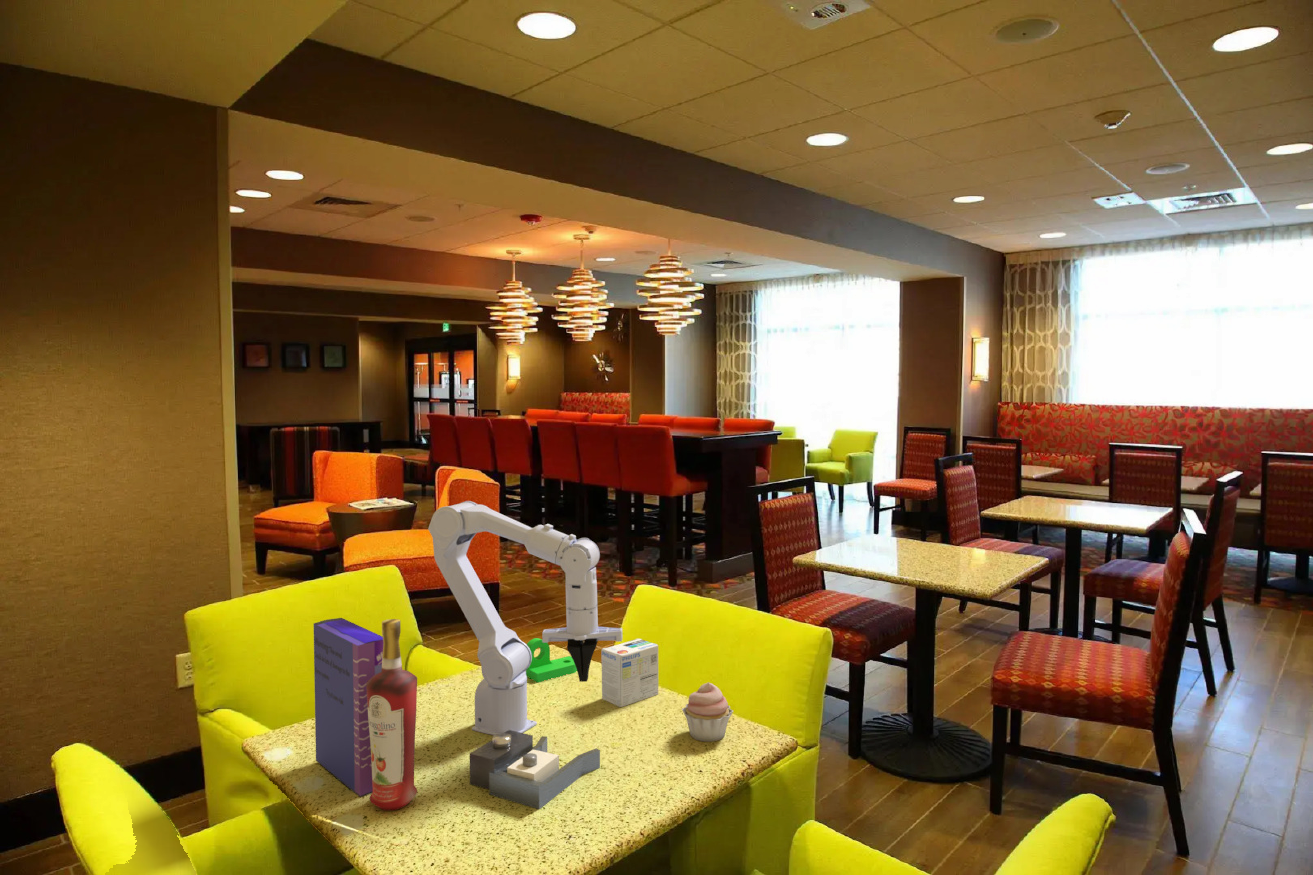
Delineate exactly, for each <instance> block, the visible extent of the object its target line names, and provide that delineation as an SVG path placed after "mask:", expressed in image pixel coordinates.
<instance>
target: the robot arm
mask: <svg viewBox="0 0 1313 875" xmlns="http://www.w3.org/2000/svg"><path fill="white" fill-rule="evenodd" d="M427 529H428V531H429V533H430V535H431V538H432V545H433V557H434V560H435V563H436V566H437V567H438V569H439V570H440V572H441V575H442V576H443V578H444V580H445V582H446V584H447V585H448V587H449V589H450V591H451V593H452V595H453V597H454V598H455V600H456V602H457V603H458V605H459V607H460V610H461V611H462V613H463V614H464V617H465V619H466V620H467V622H468V624H469V625H470V628H471V629H472V631H473V633H474V635H475V637H476V639H477V640H478V649H477V658H478V661H479V662H480V666H481V674H482V677H483V679H482V680H481V681H480V682H479V683H478V684H477V686H476V689H475V694H474V726H472V727H471V730H472V731H475V732H479V733H482V734H487V735H491V736H494V735H496V734H500V733H505V732H506V731H508V730H512V731H516V732H520V733H525V732H527V731H528V730H531V729H532V728H533V727H534V726H536V725H537V723H538V722H537V721H536V720H531V719H528V682H527V681H528V677H527V676H526V669H527V668H528V667H529V666H530V664H531V661H532V654H531V650H530V648H529V647H528V646H527V643H525V642H524V641H522V640H521V639H520V638H519V636H518V635H517V632H516V631H515V630H512V629H510V628H509V627H507V626H506V625H505V623H504V622H503V620H502V618H501V617H500V615H499V613H498V610H496V608H495V606H494V604H493V602H492V600H491V598H490V596H489V595H488V593H487V590H486V589H485V588H484V587H485V586H484V585H483V584H482V582H481V580H480V578H479V576H478V575H477V573H476V571H475V570H474V567H473V566H472V564H471V562H470V560H469V558H468V556H467V554H468V550H469V548H470V545H471V541H472V540H473V538H474V537H475V536H476V534H478V533H482V532H487V533H490V534H492V535H493V534H494V535H495V536H499V537H502V538H505V539H508V540H510V541H514V542H516V543H520V544H522V545H524V546H525V548H526V551H527V553H528V554H529V555H533V556H535V557H538V558H539V559H542V560H544V561H547V562H549V563H552V564H555V565H557V566H560V568H561V570H562V571H563V572H564V574H565V609H566V610H565V614H566V616H565V617H566V618H565V619H566V627H559V628H547V629H543V631H542V633H541V635H542V638H541V639H542V640H543V643H548V644H549V642H567V646H566V649H567V651H568V653H569V656H571V657H572V659H573V661H574V663H575V666H576V669H577V672H576V673H577V675H578V679H579V681H578V682H580V683H581V682H588V680H589V672H590V666H591V662H592V658H593V655H594V653H595V650H596V648H597V645H598V642H599V641H601V642H602V641H603V642H604V641H606V642H607V641H615V642H622V641H623V628H622V627H607V626H599V623H598V622H599V618H598V610H599V609H598V582H597V567H596V565H598V563H599V561H600V558H601V554H600V553H601V552H600V549H599V547H598V545H597V544H596V543H595V542H594V541H592V540H591V539H590V538H588V537H581V538H578V539H577V536H576V535H575V534H573V533H571V534H566V533H564V532H561V531H558V530H556V529H554V525H552V524H550V523H547V524H544V525H542V524H537V525H535V526H534V527H531V526H529V525H526V524H525V523H522V522H520V521H518V520H515V519H513V518H511V517H509V516H507V515H504V514H502V513H500V512H498V511H496V510H493V509H492V508H490V507H488V506H486V505H485V504H478V503H476V502H474V501H471V500H465V501H463V502H460V503H457V504H456V503H455V504H453V505H449V506H448V505H447V506H441V507H440V508H438V509H436V510H435V511H434V513H433V514H432V516H431V520H430V523H429V526H428V528H427Z"/></svg>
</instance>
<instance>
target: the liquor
mask: <svg viewBox="0 0 1313 875" xmlns="http://www.w3.org/2000/svg"><path fill="white" fill-rule="evenodd" d="M401 628H402V627H401V620H400V619H398V618H397V619H396V618H392V619H391V618H390V619H385V620H382V622H381V636H382V637H383V642H384V644H383V657H382V670H381V672H380V673H378V674H376V675H374V676H373V677H372V678H371V679H370V680H369V681H368V682H367V683H366V688H367V705H368V721H369V732H370V745H371V762H372V785H373V792H372V793H371V794H370V796H369V801H370V803H371V804H372V805H374V806H375V807H376V808H379V809H380V810H382V811H389V812H390V811H391V812H392V811H397V810H401V809H402V808H404V807H406V806H408V804H409V803H410V802H412V800H413V799H414V798H415V797H416V795H417V793H418V789H417V787H416V785H415V749H416V725H417V723H416V722H417V706H418V705H417V699H418V677H417V676H416V675H415V674H413V673H412V672H411V671H409V670H406V669H403V664H402V655H401V648H400V636H401V630H402V629H401Z"/></svg>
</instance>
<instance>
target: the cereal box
mask: <svg viewBox="0 0 1313 875" xmlns="http://www.w3.org/2000/svg"><path fill="white" fill-rule="evenodd" d="M383 644H384V642H383V636H382V635H380V634H378V633H376V632H373V631H371V630H369V629H367V628H364V627H362V626H360V625H359V624H356V623H354V622H352V621H349V620H347V619H345V618H343V617H337V618H329V619H324V620H320V621H317V622H314V623H313V657H314V658H313V659H314V660H313V666H314V676H313V677H314V722H315V724H314V725H315V728H314V729H315V762H317V764H319V765H320V766H322V767H323V768H324V769H325V770H326V771H328V772H329V773H331V775H332V776H334V777H335V778H336V779H337V780H338V781H340V782H341V783H342V784H344V785H345V786H346V787H347V788H349V789H350V790H351V791H352V792H353V793H354V794H356V795H357V796H358V797H359V798H362V797H365V796H367V795H369V794H370V795H371V794H372V792H373V785H372V762H371V745H370V732H369V721H368V705H367V688H366V683H367V682H368V681H369V680H370V679H371V678H372V677H373V676H374V675H376V674H378V673H380V672H381V670H382V657H383Z"/></svg>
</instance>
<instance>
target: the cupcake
mask: <svg viewBox="0 0 1313 875" xmlns="http://www.w3.org/2000/svg"><path fill="white" fill-rule="evenodd" d="M728 704H729V703H728V701H727V698H726V697H725V696H724V695H723V693H722V691H721V689H720V688H719V687H718V686H716V685H714V684H713V683H710V682H706V683H703V684H702V685H700V687H699V688H698V689H697V691H694V692H692V693H690V694H689V697H688V703H686V704H685V707H682V709H681V710H682V712H683V714H684V716H685V719H686V722H687V726H688V730H689V731H688V732H689V734H690V737H691V738H692V739H693V740H696V741H699V742H706V743H711V742H718V741H720V740H722V739H723V738H725V735H726V731H727V726H728V723H729V720H730V718H731V716H732V714H733V713H734V710H733V709H731V706H730V705H728Z"/></svg>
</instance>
